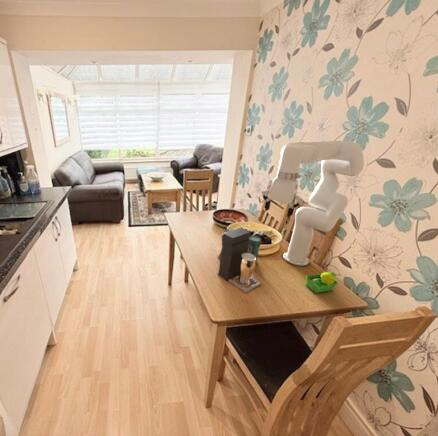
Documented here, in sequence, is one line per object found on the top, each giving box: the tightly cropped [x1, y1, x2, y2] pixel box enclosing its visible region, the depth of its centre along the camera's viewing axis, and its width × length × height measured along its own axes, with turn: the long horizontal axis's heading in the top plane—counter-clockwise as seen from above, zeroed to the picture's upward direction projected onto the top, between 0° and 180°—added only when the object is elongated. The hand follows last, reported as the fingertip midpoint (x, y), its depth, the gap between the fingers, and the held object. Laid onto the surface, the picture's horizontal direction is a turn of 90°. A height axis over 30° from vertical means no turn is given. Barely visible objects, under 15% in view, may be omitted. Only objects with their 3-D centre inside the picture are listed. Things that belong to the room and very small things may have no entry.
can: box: [247, 235, 262, 265], centre depth 131 cm, size 6×6×15 cm
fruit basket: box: [305, 271, 339, 294], centre depth 111 cm, size 11×9×11 cm
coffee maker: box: [217, 227, 261, 293], centre depth 115 cm, size 12×17×24 cm
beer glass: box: [236, 253, 257, 287], centre depth 114 cm, size 7×7×15 cm
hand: (277, 213), depth 108 cm, fingers open, 9 cm apart
